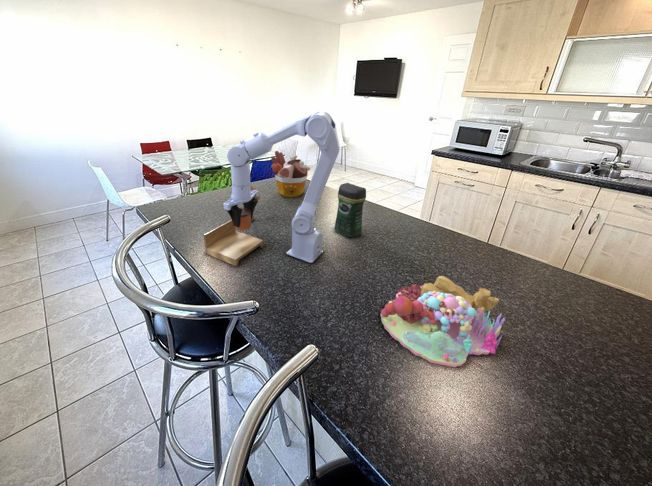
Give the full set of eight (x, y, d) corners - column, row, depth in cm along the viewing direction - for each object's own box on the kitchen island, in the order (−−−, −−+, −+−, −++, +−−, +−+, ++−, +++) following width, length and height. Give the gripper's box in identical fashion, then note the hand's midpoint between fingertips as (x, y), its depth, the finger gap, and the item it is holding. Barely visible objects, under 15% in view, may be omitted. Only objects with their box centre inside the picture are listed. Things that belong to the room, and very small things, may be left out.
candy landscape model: (406, 278, 85) (412, 251, 81) (503, 317, 72) (516, 287, 68) (369, 329, 67) (374, 298, 63) (488, 395, 54) (505, 360, 50)
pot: (241, 221, 101) (241, 206, 99) (255, 225, 98) (254, 210, 96) (230, 227, 97) (229, 212, 94) (244, 232, 94) (243, 216, 92)
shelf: (263, 246, 100) (263, 228, 97) (235, 266, 89) (234, 246, 86) (234, 235, 106) (233, 218, 103) (205, 253, 95) (203, 234, 92)
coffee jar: (364, 233, 109) (371, 186, 102) (351, 240, 105) (357, 191, 97) (343, 224, 116) (349, 179, 108) (330, 230, 111) (335, 183, 103)
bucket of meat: (315, 193, 146) (318, 153, 138) (295, 203, 134) (297, 160, 126) (284, 184, 157) (285, 147, 149) (263, 192, 146) (263, 153, 137)
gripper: (246, 175, 99) (247, 212, 104) (214, 187, 88) (218, 227, 93) (263, 179, 95) (263, 217, 101) (232, 192, 84) (235, 233, 90)
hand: (242, 222), depth 97 cm, fingers closed on pot, 5 cm apart
